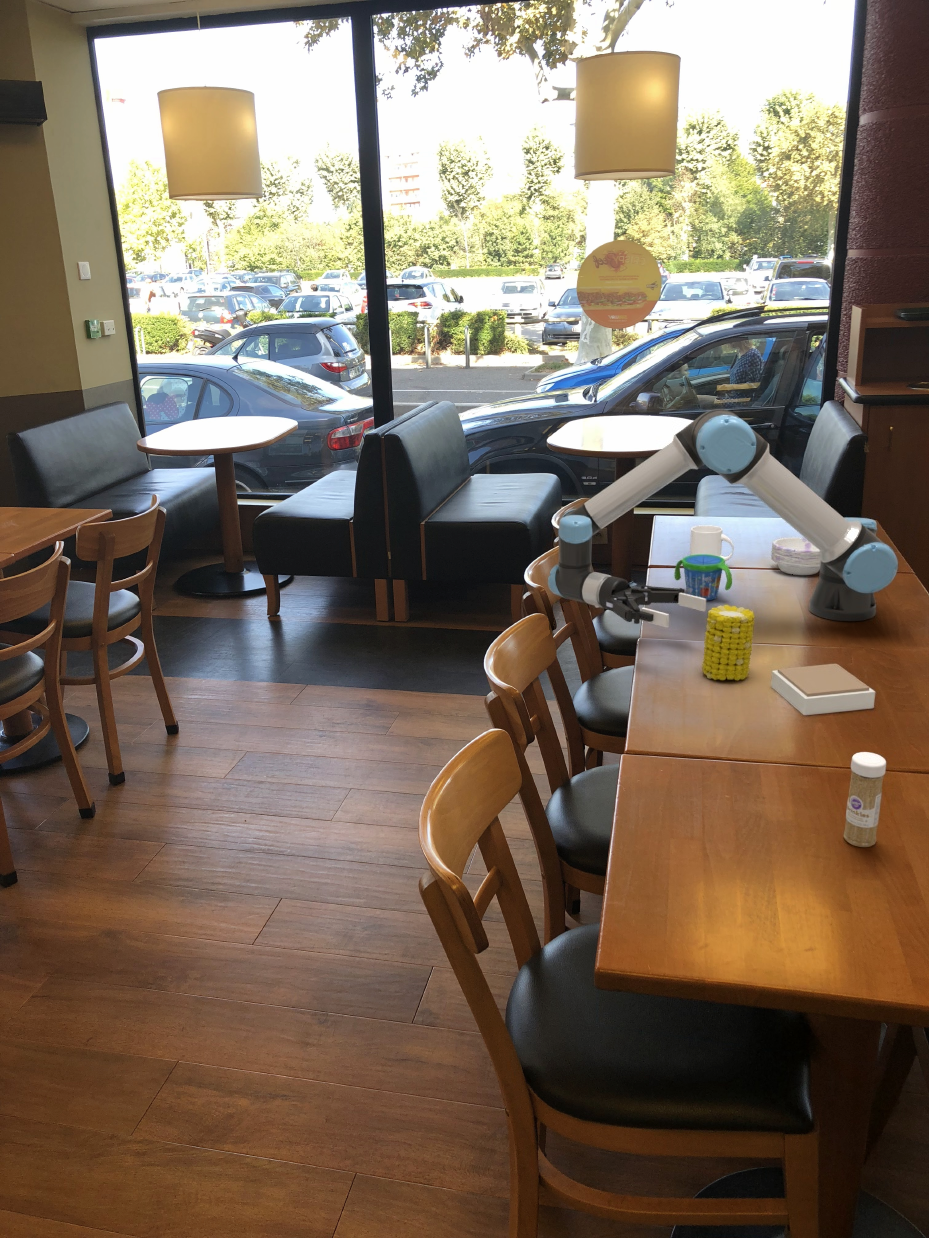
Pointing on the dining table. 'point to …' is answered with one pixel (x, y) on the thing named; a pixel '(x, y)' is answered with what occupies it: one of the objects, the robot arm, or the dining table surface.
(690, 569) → the snack cup
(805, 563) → the paper bowls
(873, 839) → the sprinkles bottle
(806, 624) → the dining table surface
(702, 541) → the mug
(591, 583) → the robot arm
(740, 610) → the food
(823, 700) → the plinth
